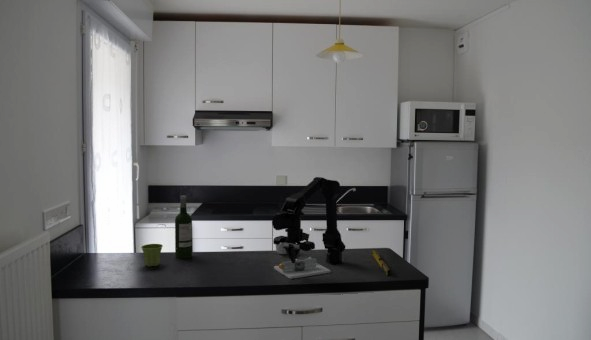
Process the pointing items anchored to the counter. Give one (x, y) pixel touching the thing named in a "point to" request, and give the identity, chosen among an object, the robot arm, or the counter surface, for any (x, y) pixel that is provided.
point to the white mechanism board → (304, 271)
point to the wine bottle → (183, 232)
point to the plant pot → (152, 254)
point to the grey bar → (298, 264)
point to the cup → (280, 248)
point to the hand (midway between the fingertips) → (293, 262)
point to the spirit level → (381, 262)
